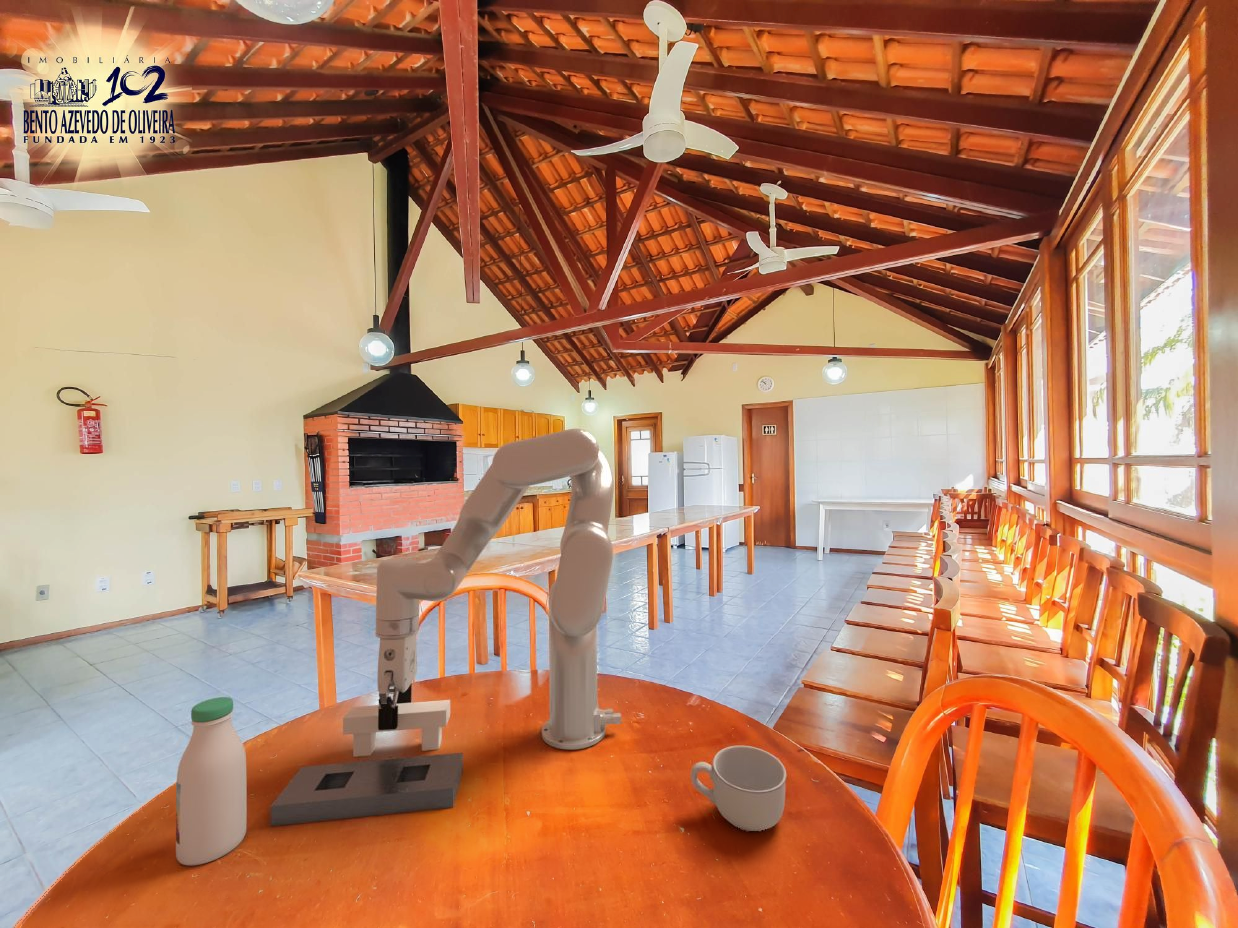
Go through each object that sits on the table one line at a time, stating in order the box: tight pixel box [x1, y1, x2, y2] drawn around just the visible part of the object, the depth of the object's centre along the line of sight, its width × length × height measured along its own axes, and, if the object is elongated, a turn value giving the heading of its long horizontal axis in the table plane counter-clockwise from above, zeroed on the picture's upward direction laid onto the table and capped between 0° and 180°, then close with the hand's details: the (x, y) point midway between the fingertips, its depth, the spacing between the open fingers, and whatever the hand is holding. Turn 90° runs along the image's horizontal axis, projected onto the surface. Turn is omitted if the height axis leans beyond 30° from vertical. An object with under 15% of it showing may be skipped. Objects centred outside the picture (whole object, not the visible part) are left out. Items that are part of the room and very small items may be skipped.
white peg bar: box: [342, 699, 451, 758], centre depth 96 cm, size 18×4×8 cm, turn 99°
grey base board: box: [269, 752, 464, 827], centre depth 82 cm, size 26×10×3 cm, turn 99°
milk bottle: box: [175, 696, 248, 867], centre depth 71 cm, size 8×8×20 cm
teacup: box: [690, 745, 787, 832], centre depth 77 cm, size 14×11×8 cm
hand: (395, 715), depth 96 cm, fingers open, 9 cm apart
